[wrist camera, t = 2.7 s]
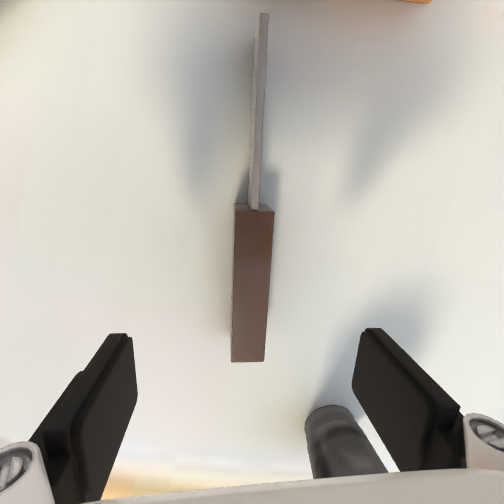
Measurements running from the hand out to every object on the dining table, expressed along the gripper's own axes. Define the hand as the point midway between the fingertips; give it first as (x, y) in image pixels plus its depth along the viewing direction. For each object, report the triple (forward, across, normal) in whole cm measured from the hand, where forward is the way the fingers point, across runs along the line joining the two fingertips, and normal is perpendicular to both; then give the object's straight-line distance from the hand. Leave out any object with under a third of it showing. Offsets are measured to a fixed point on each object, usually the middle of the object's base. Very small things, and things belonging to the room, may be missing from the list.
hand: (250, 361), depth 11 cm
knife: (+9, -1, -5) cm, 10 cm away
